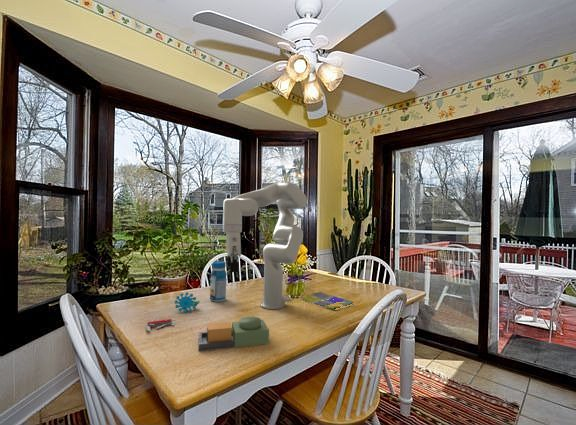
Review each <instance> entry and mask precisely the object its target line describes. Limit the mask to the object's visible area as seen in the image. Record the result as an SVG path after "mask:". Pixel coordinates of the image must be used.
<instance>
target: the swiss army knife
mask: <svg viewBox="0 0 576 425" xmlns="http://www.w3.org/2000/svg"><path fill="white" fill-rule="evenodd" d="M173 321H174V322H176V321H177V319H172V318H168V319H161V320H159V318H158V317H155V318H153V319H151V320H150V321H147V323H146V331H147V332H150V331H151V328H156V329H159V328H162V327H164V326H175V323H173Z"/></svg>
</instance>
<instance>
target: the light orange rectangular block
mask: <svg viewBox="0 0 576 425" xmlns="http://www.w3.org/2000/svg"><path fill="white" fill-rule="evenodd" d="M206 332H207V342H216V341H226V340H231V336H232V322H231V321H218V322H209V323H207V327H206Z"/></svg>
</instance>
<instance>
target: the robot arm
mask: <svg viewBox="0 0 576 425" xmlns="http://www.w3.org/2000/svg"><path fill="white" fill-rule="evenodd" d="M307 200H308V198H307V196H306V194H305V193H304V192H303V191H302V190H301V189H300V188H299V187H298V186H297V185H296V184H295V183H292V182H288V181H287V182H284V181H283V182H273V183H271V184H269V185H266V186H264V187H262V188H260V189H256V190H253V191H249V192H246V193H242V194H239V195H236V196H234V197H232V198H225V199H224V200H223V233H226V234H225V236H226V238H225V242H226V244H225V247H226V249H225V250H226V255H227V258H226V259H227V260H226V262H227V263H226V264H227V265H226V267H228V268H229V270H230V273H238V272H240V271H239V269H240V268H239V263H240V262H239V257H241V256H242V244H241V240H242V239H241V233H242V232H243V216H244V217H250V216H251V217H252V216H253V215H254V216H255V215H256V214H257V213H258V212H259V208H263V207H267V206H269V205H272V204H273V203H276V205H277V209H278V211H279V212H278V214H279V217H278V220H277V222H276V224H275V227H274V231H273V233H272V239H273V241H274V242H269V243H267V244H266V245H264V247H263V250H262V255H263V264H264V266H263V267H264V269H263V270H264V271H263V272H264V273H263V298H262V301H260V302H259V306H260V307H261V308H263V309H266V310H280V309H283V308H285V306H286V302H289V303H290V302H292V297H288V296H285V297H284V296H283V284H284V283H283V282H284V269H283V266H282V264H285V265H291V264H293V263H294V262H295V261H296V260H297V257H298V254H299V251H300V248H301V245H302V242H303V237H304V233H303V229H302V228H301V227H300V226H298V225H294V223H295V216H294V214H293V212H292V210H301V209H302V210H303V209H304V208H305V207H306V206H307V202H308V201H307Z"/></svg>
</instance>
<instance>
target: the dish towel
mask: <svg viewBox="0 0 576 425" xmlns="http://www.w3.org/2000/svg"><path fill="white" fill-rule="evenodd" d="M326 299H329V300H326ZM333 299H334V300H333ZM301 300H302V301H304V300H305V302H307V301H308V302H307V303H309V302H311V303H310V304H312V303H314V304H317V305H320V306H323V307H326V308H329V309H328V310H330V309H333V310H332V311H336V310H335V309H336V308H340V307H341V306H328V305H330V304H334V303H336V302H345V303H339V304H342V305H343V306H347V305H350V304H352V303H353V304H354V301H352V300H349V299H346V298H342V297H338V296H335V295H332V294H328V293H326V292H323V291H318V292H312V293H310V294H305V295H302V297H301ZM321 300H324V301H321ZM314 304H313V305H314ZM353 304H352V305H353ZM317 305H316V306H317ZM320 306H319V307H320ZM343 306H342V307H343ZM323 307H322V308H323ZM326 308H325V309H326Z"/></svg>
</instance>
